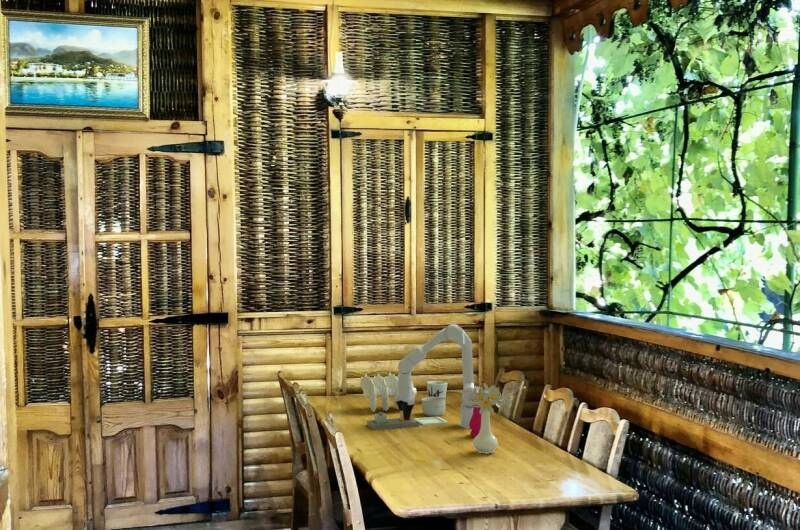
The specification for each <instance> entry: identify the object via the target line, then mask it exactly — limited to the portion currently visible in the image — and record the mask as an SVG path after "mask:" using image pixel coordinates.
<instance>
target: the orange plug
mask: <svg viewBox="0 0 800 530" xmlns="http://www.w3.org/2000/svg"><path fill="white" fill-rule="evenodd" d="M412 413H413V412H412V411H411V415H410V419H409V420H404V415H403V411H399V418H400V422H408V421H412V418H413V414H412Z"/></svg>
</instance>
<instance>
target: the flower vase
mask: <svg viewBox="0 0 800 530" xmlns="http://www.w3.org/2000/svg"><path fill="white" fill-rule="evenodd" d="M476 387H477V388H476ZM478 387H480V386H478V385H474V392H471V395H470V397H469V398H472V399H471V400H470V401H469V402H471V401H472V400H473V401H472V403H471V405H475V404H476V405H478V406H481V408H480V414H482V417H481V429H480V432H479V434H478V435H477V436H476V437H473V441H472V445H473V447H474V448H475V450H476V452H477V453H478V454H481V453H483V455H490V454H489V453H491V454H493V453H494V452H495V450H496V448H498V446H499V441H498V439H497V437H496V436H495V435H494V434H493V432H492V429H491V423H490V414H494V413H495V410H494V408H493V407H492V406H494V405H495V406H496V407H497V408H498V409H499V408H501V406H504V405H503V402H502V401H504V400H505V398H504V396H502V394H501V392H500V387H496V386H495V384H493V385H490V387H489V386H488V384H487V383H485V382H483V387H482V386H481V387H480V389H479V390H478ZM478 391H479V392H478ZM478 393H479V394H478ZM484 453H485V454H484Z"/></svg>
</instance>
